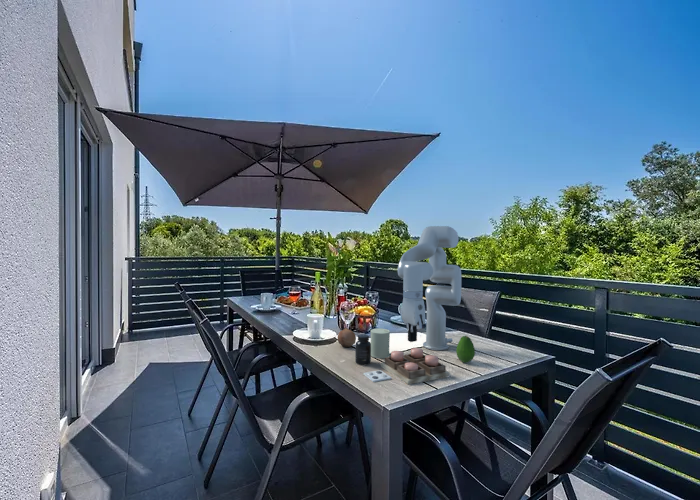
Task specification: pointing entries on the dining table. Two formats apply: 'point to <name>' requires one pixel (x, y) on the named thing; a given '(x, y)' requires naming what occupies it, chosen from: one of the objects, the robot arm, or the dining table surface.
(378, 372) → the tile
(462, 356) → the avocado
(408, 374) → the board
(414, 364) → the button
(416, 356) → the button
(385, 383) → the dining table surface
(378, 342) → the can
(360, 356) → the supplement bottle
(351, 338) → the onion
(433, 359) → the button
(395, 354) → the button
